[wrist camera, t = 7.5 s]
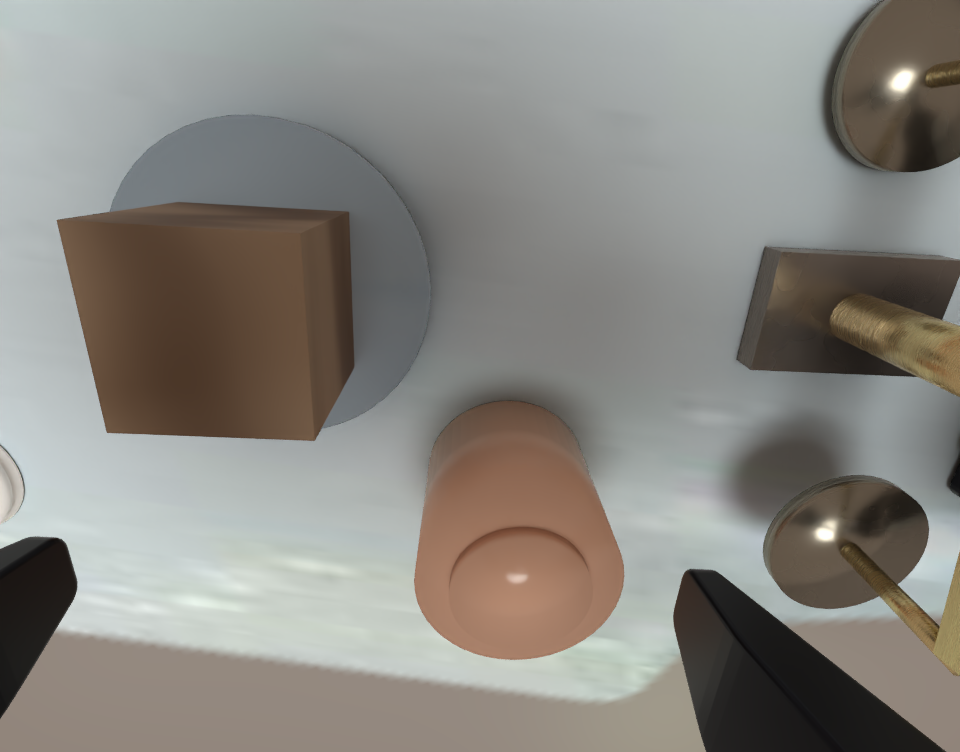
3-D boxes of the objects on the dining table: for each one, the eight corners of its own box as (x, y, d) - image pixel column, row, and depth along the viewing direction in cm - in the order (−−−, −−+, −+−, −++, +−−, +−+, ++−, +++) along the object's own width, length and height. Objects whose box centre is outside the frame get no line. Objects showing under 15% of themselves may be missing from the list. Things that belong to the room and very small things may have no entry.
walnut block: (349, 211, 16) (299, 233, 11) (354, 367, 18) (314, 440, 13) (178, 201, 16) (56, 220, 11) (202, 360, 18) (106, 433, 13)
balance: (1040, -13, 15) (1723, -217, 7) (834, 533, 22) (1048, 751, 14) (834, -27, 15) (1285, -257, 7) (694, 529, 22) (828, 748, 14)
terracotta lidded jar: (591, 403, 20) (645, 511, 14) (572, 534, 22) (612, 675, 16) (429, 397, 19) (413, 503, 13) (427, 530, 22) (412, 672, 16)
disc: (434, 127, 16) (432, 125, 15) (429, 422, 20) (427, 436, 19) (95, 107, 16) (68, 103, 15) (155, 412, 19) (138, 426, 18)
